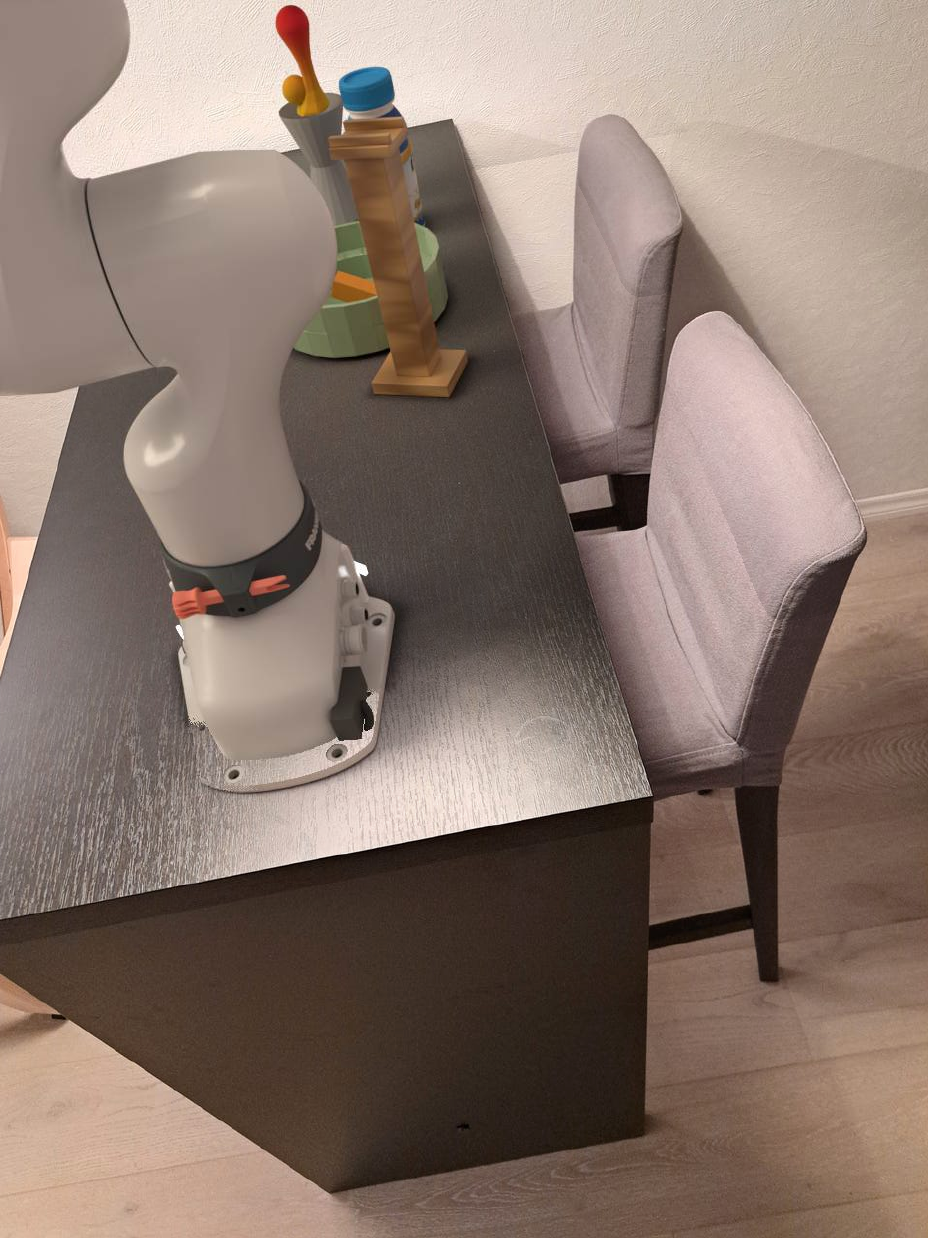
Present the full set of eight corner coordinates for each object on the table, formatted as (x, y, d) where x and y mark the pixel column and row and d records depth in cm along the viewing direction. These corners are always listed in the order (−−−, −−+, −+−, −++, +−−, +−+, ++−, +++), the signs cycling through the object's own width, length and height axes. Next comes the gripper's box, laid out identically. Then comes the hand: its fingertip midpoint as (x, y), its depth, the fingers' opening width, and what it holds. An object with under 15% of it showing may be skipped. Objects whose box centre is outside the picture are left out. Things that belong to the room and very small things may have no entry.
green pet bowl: (458, 338, 110) (448, 283, 105) (281, 377, 111) (263, 323, 106) (438, 257, 125) (428, 205, 120) (281, 291, 125) (265, 240, 120)
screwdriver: (390, 305, 117) (393, 288, 115) (385, 315, 115) (388, 298, 114) (265, 263, 116) (267, 246, 114) (259, 273, 114) (260, 255, 113)
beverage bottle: (356, 234, 133) (318, 81, 119) (405, 211, 136) (373, 58, 121) (389, 251, 128) (353, 93, 114) (438, 227, 131) (410, 69, 116)
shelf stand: (468, 361, 107) (423, 109, 87) (449, 397, 102) (398, 141, 83) (395, 358, 109) (336, 114, 90) (373, 394, 105) (307, 145, 86)
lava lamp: (369, 195, 142) (304, -88, 116) (367, 221, 136) (298, -71, 110) (311, 205, 143) (233, -73, 117) (306, 232, 136) (223, -56, 111)
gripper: (-15, -92, 78) (62, 88, 88) (113, -149, 91) (169, 14, 101) (-74, -83, 80) (9, 92, 90) (60, -140, 93) (120, 19, 103)
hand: (94, 50), depth 96 cm, fingers open, 8 cm apart
